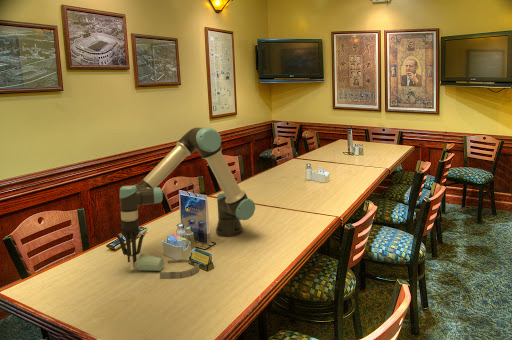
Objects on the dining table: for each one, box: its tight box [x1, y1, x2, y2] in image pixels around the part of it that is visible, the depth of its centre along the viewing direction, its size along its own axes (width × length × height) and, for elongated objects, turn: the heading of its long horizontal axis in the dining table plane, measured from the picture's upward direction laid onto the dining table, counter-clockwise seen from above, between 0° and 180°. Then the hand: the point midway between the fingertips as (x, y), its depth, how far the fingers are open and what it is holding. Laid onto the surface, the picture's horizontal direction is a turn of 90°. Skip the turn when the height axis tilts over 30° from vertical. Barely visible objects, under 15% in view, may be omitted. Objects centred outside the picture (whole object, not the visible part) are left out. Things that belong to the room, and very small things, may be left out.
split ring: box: [159, 258, 200, 280], centre depth 206 cm, size 16×18×2 cm
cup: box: [136, 253, 164, 272], centre depth 207 cm, size 8×8×10 cm
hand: (132, 268), depth 206 cm, fingers closed
